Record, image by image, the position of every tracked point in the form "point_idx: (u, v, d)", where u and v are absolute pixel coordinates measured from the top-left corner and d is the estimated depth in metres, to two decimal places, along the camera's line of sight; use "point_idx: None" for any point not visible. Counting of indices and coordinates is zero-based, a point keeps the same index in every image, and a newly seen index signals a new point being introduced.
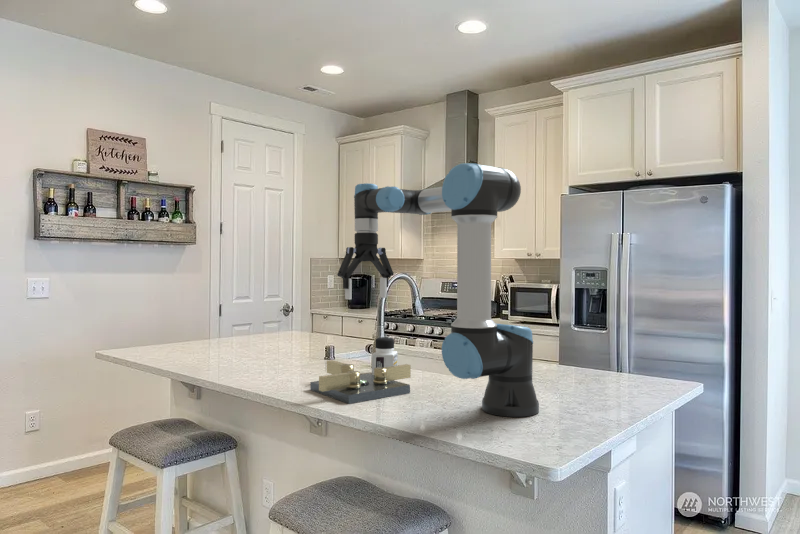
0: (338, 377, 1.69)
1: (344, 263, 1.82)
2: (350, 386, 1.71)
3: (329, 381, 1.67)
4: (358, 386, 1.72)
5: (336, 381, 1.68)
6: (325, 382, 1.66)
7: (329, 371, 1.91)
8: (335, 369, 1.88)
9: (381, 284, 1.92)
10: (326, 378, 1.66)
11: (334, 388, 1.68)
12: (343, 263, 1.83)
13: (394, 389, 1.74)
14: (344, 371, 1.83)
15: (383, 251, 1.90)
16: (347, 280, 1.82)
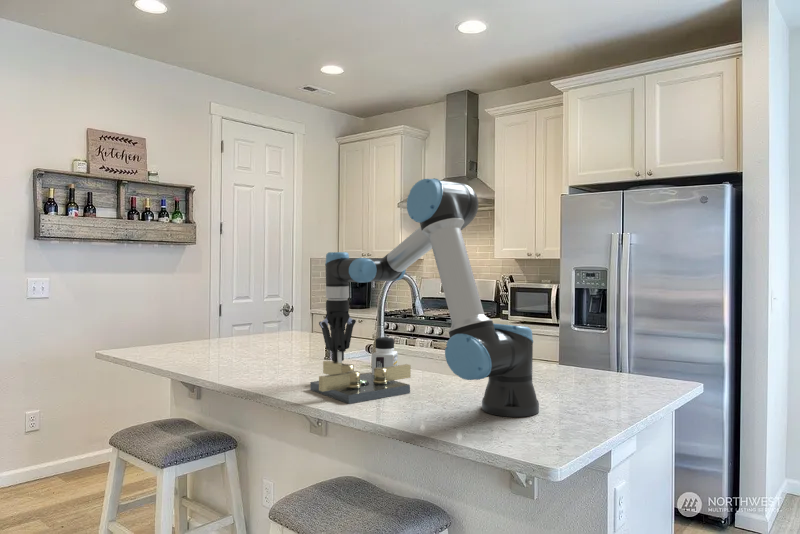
0: (338, 377, 1.69)
1: (326, 338, 1.88)
2: (350, 386, 1.71)
3: (329, 381, 1.67)
4: (358, 386, 1.72)
5: (336, 381, 1.68)
6: (325, 382, 1.66)
7: (326, 372, 1.90)
8: (333, 369, 1.88)
9: None
10: (326, 378, 1.66)
11: (334, 388, 1.68)
12: (325, 338, 1.88)
13: (394, 389, 1.74)
14: (345, 371, 1.83)
15: (352, 322, 1.93)
16: (336, 353, 1.90)
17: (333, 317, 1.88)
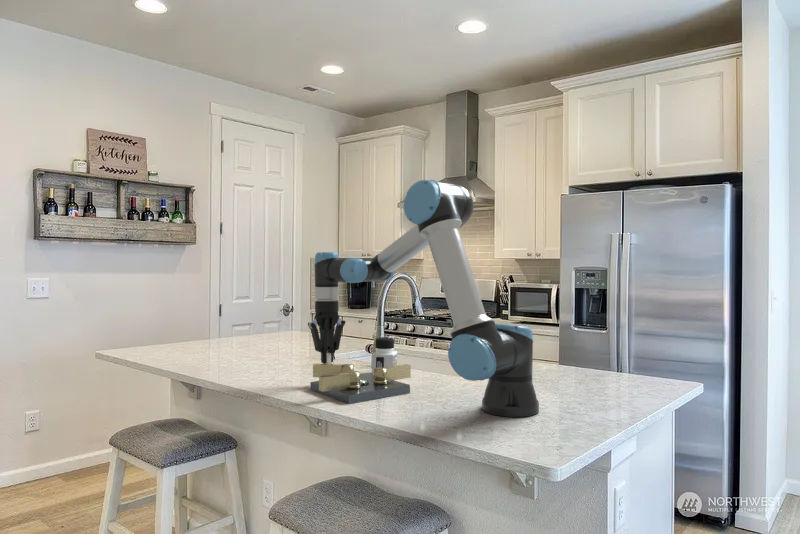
0: (338, 377, 1.69)
1: (315, 339, 1.85)
2: (350, 386, 1.71)
3: (329, 381, 1.67)
4: (358, 386, 1.72)
5: (336, 381, 1.68)
6: (325, 382, 1.66)
7: (318, 375, 1.85)
8: (329, 371, 1.85)
9: None
10: (326, 378, 1.66)
11: (334, 388, 1.68)
12: (314, 339, 1.86)
13: (394, 389, 1.74)
14: None
15: (342, 323, 1.90)
16: (325, 355, 1.87)
17: (322, 318, 1.86)
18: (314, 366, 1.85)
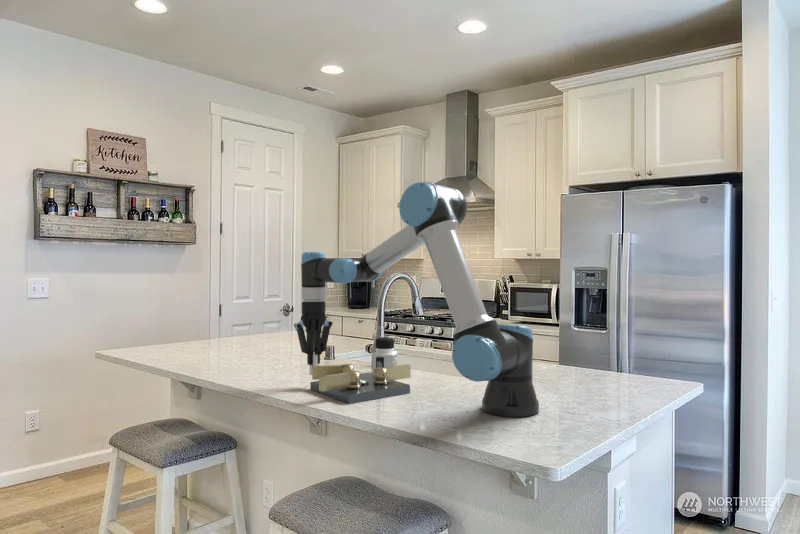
0: (338, 377, 1.69)
1: (301, 341, 1.82)
2: (350, 386, 1.71)
3: (329, 381, 1.67)
4: (358, 386, 1.72)
5: (336, 381, 1.68)
6: (325, 382, 1.66)
7: (317, 377, 1.82)
8: (330, 372, 1.83)
9: None
10: (326, 378, 1.66)
11: (334, 388, 1.68)
12: (300, 340, 1.83)
13: (394, 389, 1.74)
14: None
15: (329, 324, 1.87)
16: (311, 356, 1.84)
17: (309, 319, 1.83)
18: (314, 368, 1.82)
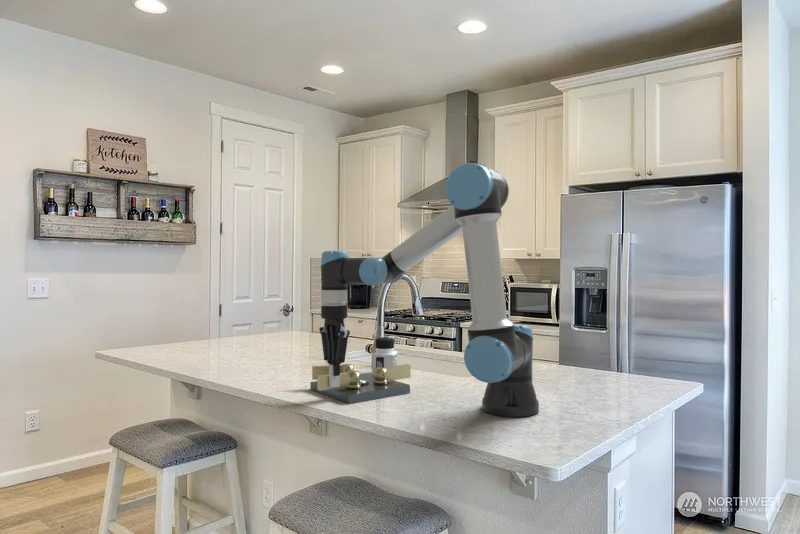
0: None
1: None
2: (349, 386, 1.71)
3: (327, 380, 1.68)
4: (357, 386, 1.71)
5: None
6: (323, 381, 1.67)
7: None
8: None
9: None
10: (324, 377, 1.67)
11: (332, 388, 1.68)
12: None
13: (394, 389, 1.74)
14: None
15: (340, 334, 1.63)
16: None
17: (326, 324, 1.69)
18: (314, 368, 1.82)
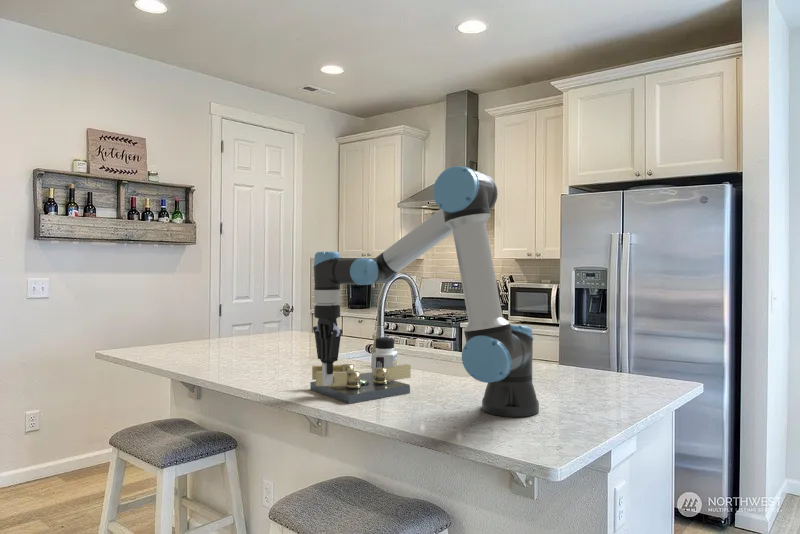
0: (333, 374, 1.72)
1: None
2: (346, 385, 1.72)
3: None
4: (353, 387, 1.71)
5: None
6: (319, 377, 1.73)
7: None
8: None
9: None
10: (320, 374, 1.72)
11: (329, 385, 1.72)
12: None
13: (394, 389, 1.74)
14: None
15: (333, 333, 1.66)
16: None
17: (320, 323, 1.72)
18: (314, 368, 1.82)
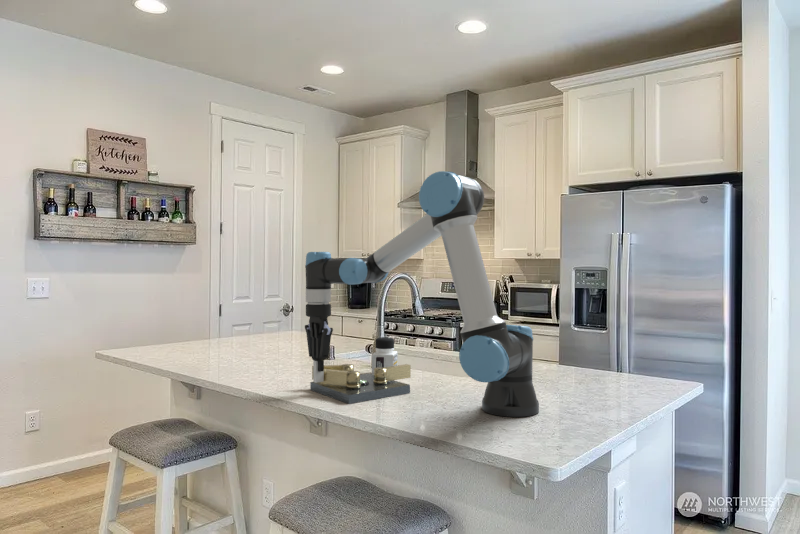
0: (334, 373, 1.74)
1: None
2: (345, 385, 1.73)
3: (326, 375, 1.76)
4: (351, 387, 1.71)
5: (333, 377, 1.75)
6: None
7: None
8: None
9: None
10: None
11: (331, 383, 1.75)
12: None
13: (394, 389, 1.74)
14: None
15: (323, 331, 1.70)
16: None
17: (311, 321, 1.76)
18: None
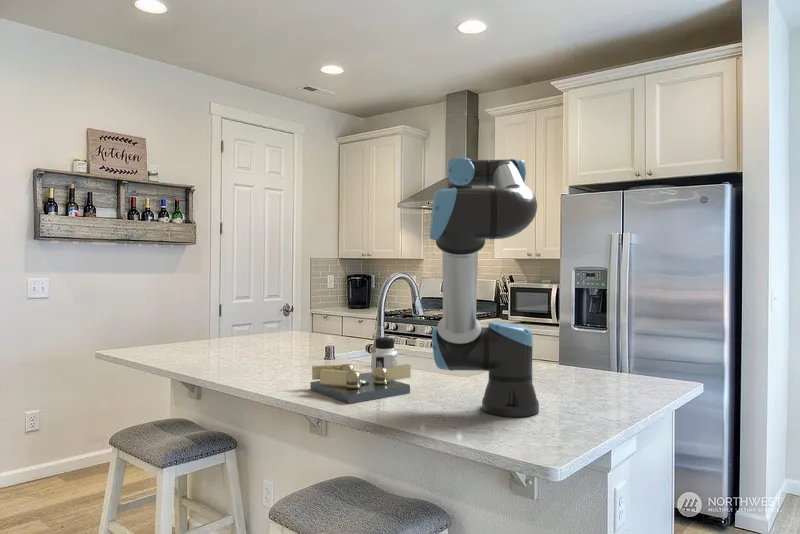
0: (334, 373, 1.74)
1: None
2: (345, 385, 1.73)
3: (326, 375, 1.76)
4: (351, 387, 1.71)
5: (333, 377, 1.75)
6: (322, 375, 1.76)
7: (317, 377, 1.82)
8: None
9: None
10: (323, 371, 1.76)
11: (331, 383, 1.75)
12: None
13: (394, 389, 1.74)
14: None
15: None
16: None
17: None
18: (314, 368, 1.82)
